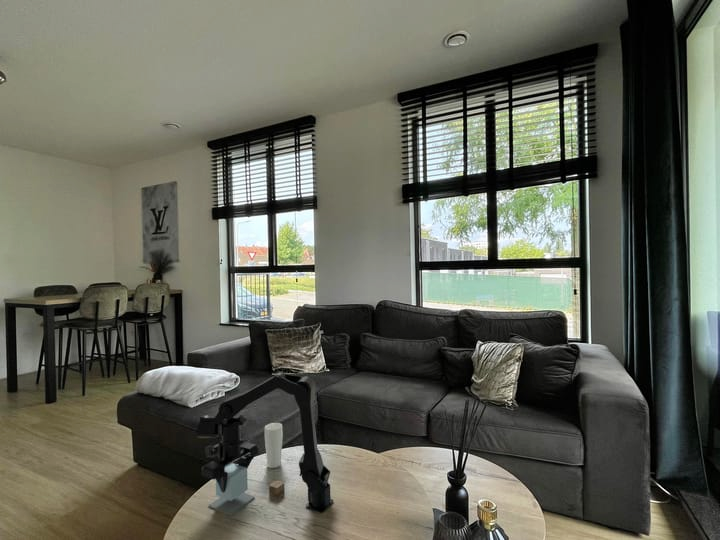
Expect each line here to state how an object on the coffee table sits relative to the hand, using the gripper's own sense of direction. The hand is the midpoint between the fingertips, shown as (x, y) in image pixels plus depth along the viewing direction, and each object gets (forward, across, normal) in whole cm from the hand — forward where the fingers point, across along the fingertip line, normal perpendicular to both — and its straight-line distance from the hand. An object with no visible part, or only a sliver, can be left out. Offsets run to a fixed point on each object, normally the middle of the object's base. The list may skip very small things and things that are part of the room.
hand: (232, 486), depth 118 cm
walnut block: (+5, -10, +10) cm, 15 cm away
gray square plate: (+5, 0, 0) cm, 5 cm away
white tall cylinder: (+5, -24, -4) cm, 25 cm away
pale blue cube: (+2, 0, 0) cm, 2 cm away
